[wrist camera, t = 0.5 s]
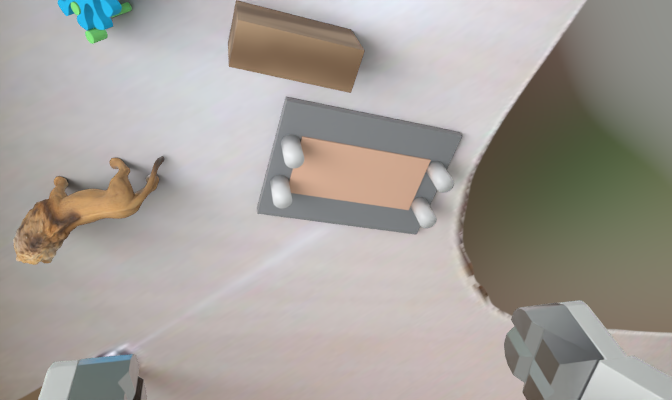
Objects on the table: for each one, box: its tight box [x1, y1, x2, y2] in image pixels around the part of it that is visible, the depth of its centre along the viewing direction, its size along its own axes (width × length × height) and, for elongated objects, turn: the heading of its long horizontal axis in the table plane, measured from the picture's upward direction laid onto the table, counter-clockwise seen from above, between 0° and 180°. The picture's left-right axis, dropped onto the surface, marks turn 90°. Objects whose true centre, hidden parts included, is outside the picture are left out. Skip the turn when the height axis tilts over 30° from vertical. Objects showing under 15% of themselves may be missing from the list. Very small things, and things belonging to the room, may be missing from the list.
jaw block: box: [228, 0, 365, 93], centre depth 47 cm, size 4×11×6 cm, turn 73°
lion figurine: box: [13, 156, 164, 265], centre depth 51 cm, size 15×5×9 cm, turn 111°
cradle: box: [257, 97, 462, 234], centre depth 58 cm, size 14×20×4 cm
